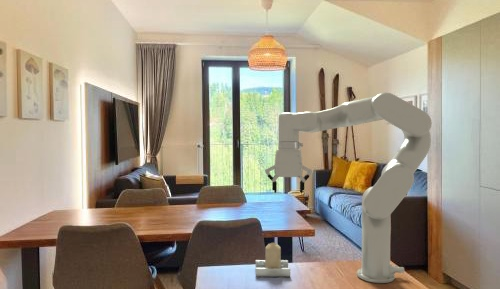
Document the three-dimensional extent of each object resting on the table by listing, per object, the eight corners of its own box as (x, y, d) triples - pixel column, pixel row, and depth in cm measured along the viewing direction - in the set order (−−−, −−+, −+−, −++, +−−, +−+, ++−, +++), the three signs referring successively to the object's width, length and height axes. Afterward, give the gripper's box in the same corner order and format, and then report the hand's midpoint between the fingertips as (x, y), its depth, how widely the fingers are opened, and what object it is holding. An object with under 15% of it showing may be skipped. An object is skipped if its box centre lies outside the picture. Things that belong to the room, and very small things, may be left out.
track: (287, 268, 140) (287, 260, 140) (290, 277, 131) (290, 268, 131) (255, 268, 141) (255, 260, 141) (255, 277, 132) (255, 268, 132)
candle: (279, 274, 133) (279, 246, 133) (264, 273, 134) (264, 245, 134) (281, 269, 138) (281, 241, 138) (266, 268, 139) (266, 241, 139)
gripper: (310, 146, 144) (310, 191, 144) (264, 145, 144) (264, 190, 144) (313, 146, 136) (313, 194, 136) (265, 146, 136) (265, 193, 137)
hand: (288, 192), depth 140 cm, fingers open, 9 cm apart
